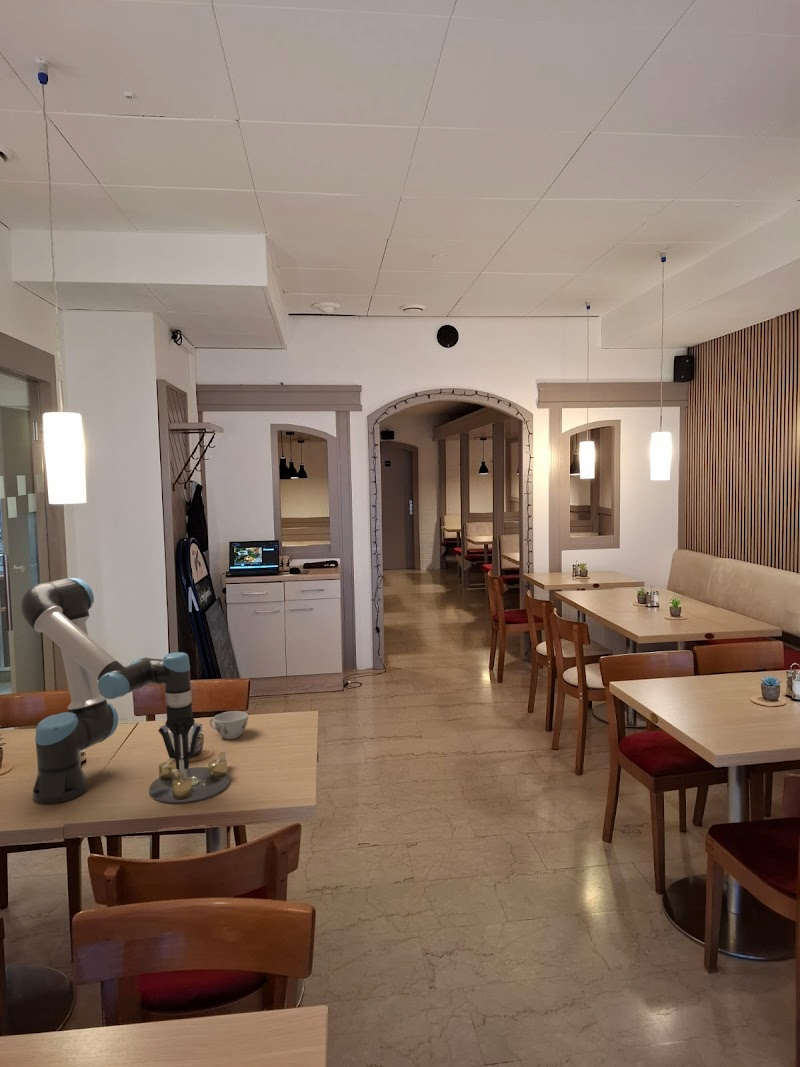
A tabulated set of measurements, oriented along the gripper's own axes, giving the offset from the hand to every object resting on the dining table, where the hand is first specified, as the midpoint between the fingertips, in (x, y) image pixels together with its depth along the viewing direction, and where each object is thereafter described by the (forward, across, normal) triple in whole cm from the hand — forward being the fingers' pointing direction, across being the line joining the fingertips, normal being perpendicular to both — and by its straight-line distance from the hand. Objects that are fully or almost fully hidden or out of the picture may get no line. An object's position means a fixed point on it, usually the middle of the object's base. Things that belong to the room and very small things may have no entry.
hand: (183, 778), depth 217 cm
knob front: (+2, 0, -3) cm, 4 cm away
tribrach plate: (+3, +1, +2) cm, 4 cm away
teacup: (+4, +5, +44) cm, 45 cm away
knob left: (+2, -7, +11) cm, 13 cm away
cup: (+4, -8, +26) cm, 27 cm away
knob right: (+2, +9, +11) cm, 14 cm away
